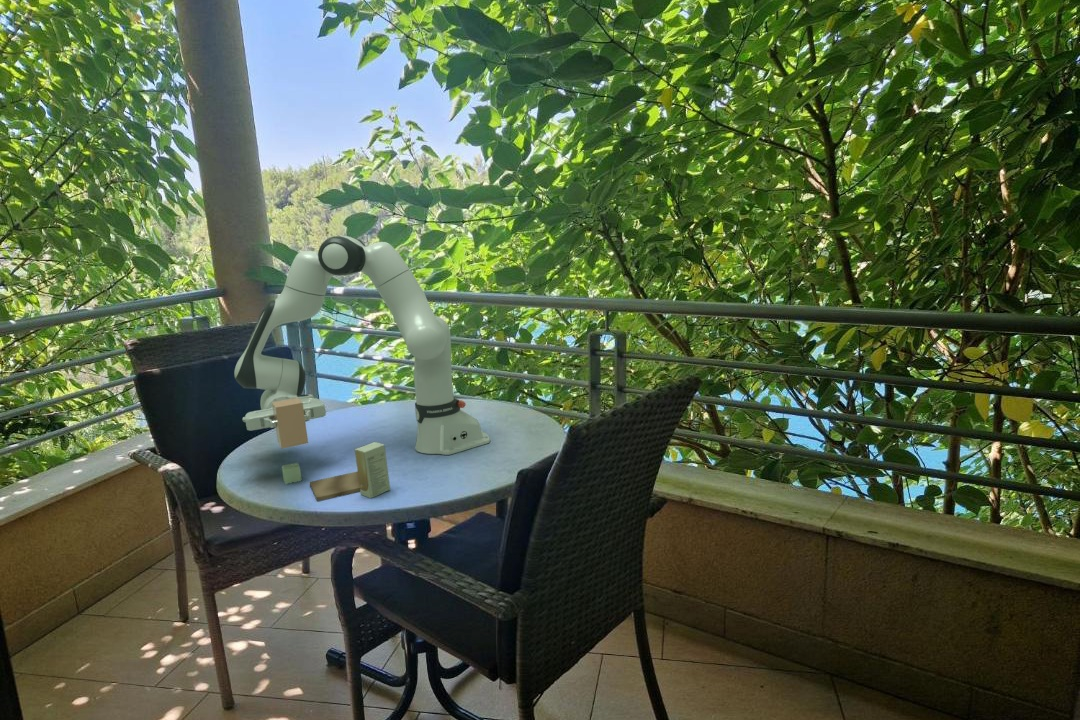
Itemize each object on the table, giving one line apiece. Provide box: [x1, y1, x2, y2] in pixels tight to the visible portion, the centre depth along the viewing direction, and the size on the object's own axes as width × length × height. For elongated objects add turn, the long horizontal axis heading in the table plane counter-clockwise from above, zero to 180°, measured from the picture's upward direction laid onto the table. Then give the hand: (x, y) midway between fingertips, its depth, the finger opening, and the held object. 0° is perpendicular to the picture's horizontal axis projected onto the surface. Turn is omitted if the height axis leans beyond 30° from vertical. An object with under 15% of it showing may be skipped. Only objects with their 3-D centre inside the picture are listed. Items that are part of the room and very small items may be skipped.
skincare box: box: [354, 441, 391, 499], centre depth 155 cm, size 6×4×12 cm
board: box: [309, 470, 361, 502], centre depth 161 cm, size 13×12×1 cm
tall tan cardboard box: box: [272, 398, 309, 449], centre depth 164 cm, size 7×7×11 cm
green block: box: [281, 462, 302, 485], centre depth 167 cm, size 4×4×4 cm
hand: (290, 421), depth 163 cm, fingers closed on tall tan cardboard box, 7 cm apart
